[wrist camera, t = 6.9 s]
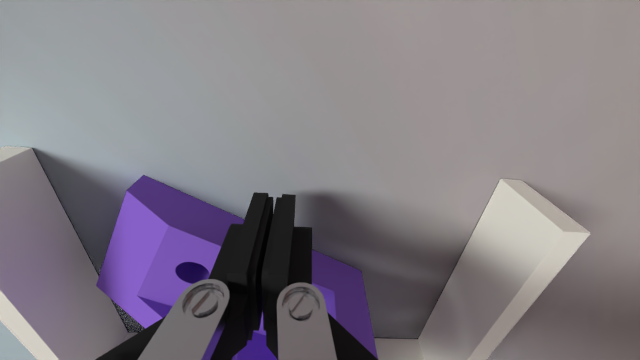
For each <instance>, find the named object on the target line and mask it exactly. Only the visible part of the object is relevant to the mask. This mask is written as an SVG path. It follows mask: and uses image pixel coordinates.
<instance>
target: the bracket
mask: <svg viewBox="0 0 640 360" xmlns="http://www.w3.org/2000/svg"><path fill="white" fill-rule="evenodd" d="M243 223H244V219H242V218H240V217H237V216H235V215H233V214H231V213H228V212H226V211H224V210H222V209H219V208H217V207H215V206H212V205H210V204H208V203H206V202H203V201H201V200H199V199H197V198H194V197H192V196H190V195H188V194H185V193H183V192H181V191H178V190H176V189H174V188H172V187H169V186H167V185H165V184H163V183H160V182H158V181H156V180H154V179H151V178H149V177H147V176H145V175H143V176H142V177H141V178H140V179H139V180H137V181H136V182H135V183H134V184H133V185H132V186H131V187H130V188H129V189H128V190H127V191H126V194H125V197H124V200H123V203H122V206H121V209H120V212H119V215H118V219H117V222H116V225H115V228H114V231H113V234H112V237H111V240H110V243H109V246H108V250H107V253H106V256H105V259H104V262H103V265H102V268H101V271H100V274H99V278H98V281H97V284H96V286H97V287H98V288H99V289H100V290H101V291H103V292H104V293H105V294H106V295H107V296H108V297H109V298H111V299H112V300H113V301H114V302H115V303H116V304H118V305H119V306H120V307H121V308H122V309H123V310H124V311H126V312H127V313H128V314H129V315H130V316H131V317H133V318H134V319H135V320H136V321H137V322H138V323H139V324H141V325H142V326H143V327H144V328H145V329H146V328H147V327H149V326H150V325H152V324H154V323H155V322H157V321H159V320H160V319H162V318H163V317H165V316H167V314H168V313H169V311H170V310H171V308H172V307H173V305H174V304H175V302H176V301H177V299H178V298H179V296H180V295H181V294H182V293H183V291H184V290H185V289H186V288H188V287H189V286H191V285H192V284H194V283H196V282H198V281H201V280H206V279H208V278H209V276H210V273H211V271H212V268H213V266H214V263H215V261H216V259H217V256H218V254H219V251H220V249H221V246H222V244H223V241H224V239H225V236H226V234H227V231H228V229H229V227H230V225H231V224H243ZM312 285H313V286H315V287H316V288H318V289H319V291H320V292H321V293H322V294H323V297H324V300H325V304H326V308H327V312H328V313H329V314H330V315H331V316H332V317H333V318H334V319H335V320H336V321H338V322H339V323H340V324H341V325H342V326H343V327H344V328H345V329H346V330H347V331H348V332H349V333H350V334H351V335H352V336H354V337H355V338H356V339H357V340H358V341H359V342H360V343H361V344H362V345H363V346H364V347H365V348H366V349H367V350H368V351H369V352H371V353H372V354H373V355H374V356H375V357H376V358H377V359H378V356H377V351H376V346H375V341H374V335H373V330H372V325H371V320H370V314H369V309H368V304H367V299H366V293H365V288H364V283H363V278H362V272H361V271H360V270H357V269H355V268H353V267H351V266H348V265H346V264H344V263H342V262H339V261H337V260H335V259H333V258H330V257H328V256H326V255H323V254H321V253H319V252H317V251H314V250H312ZM236 360H276V357H275V356H274V355H273V353H272V352H271V351H270V350H269V348H268V347H267V346H266V331H264V330H263V312H262V318H261V324H260V329H259V331H253V337H252V340H248V341H247V345H246V346H245V347H244V348H243V349H242V350H241V351H239V352H238V354H237V358H236Z"/></svg>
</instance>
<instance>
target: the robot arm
mask: <svg viewBox="0 0 640 360" xmlns="http://www.w3.org/2000/svg"><path fill="white" fill-rule="evenodd" d="M295 196H296V195H288V194H282V198H279V197H277V199H276V204H275V209H274V214H273V197H268V193H254V194H253V197H252V200H251V203H250V206H249V209H248V212H247V215H246V217H245V220H244V223H243V224H231V225H230V227H229V229H228V231H227V234H226V236H225V239H224V241H223V244H222V246H221V249H220V251H219V254H218V256H217V259H216V261H215V263H214V266H213V268H212V271H211V273H210V276H209V278H208V279H206V280H201V281H198V282H196V283H194V284H192V285H191V286H189V287H188V288H186V289H185V290H184V291H183V293H182V294H181V295H180V296H179V298H178V299H177V301H176V302H175V304H174V305H173V307H172V308H171V310H170V311H169V313H168V314H167V316H165V317H163V318H162V319H160V320H159V321H157V322H155V323H154V324H152V325H150V326H149V327H147V328H146V329H144V330H142V331H141V332H139V333H137V334H136V335H134V336H133V337H131V338H129V339H128V340H126V341H124V342H123V343H121V344H120V345H118V346H116V347H115V348H113V349H111V350H110V351H108V352H107V353H105V354H103V355H102V356H100V357H98V358H97V359H95V360H236V358H237V354H238V352H239V351H241V350H242V349H243V348H244V347H245V346H246V345H247V341H248V340H252V337H253V331H259V329H260V324H261V318H262V312H263V330H264V331H266V346H267V347H268V348H269V350H270V351H271V352H272V353H273V355H274V356H275V357H276V360H378V359H377V358H376V357H375V356H374V355H373V354H372V353H371V352H369V351H368V350H367V349H366V348H365V347H364V346H363V345H362V344H361V343H360V342H359V341H358V340H357V339H356V338H355V337H354V336H352V335H351V334H350V333H349V332H348V331H347V330H346V329H345V328H344V327H343V326H342V325H341V324H340V323H339V322H338V321H336V320H335V319H334V318H333V317H332V316H331V315H330V314H329V313H328V312H327V308H326V304H325V300H324V297H323V294H322V293H321V292H320V291H319V289H318V288H316V287H315V286H313V285H312V228H310V227H294V218H295Z"/></svg>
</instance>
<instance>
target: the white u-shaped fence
mask: <svg viewBox="0 0 640 360" xmlns="http://www.w3.org/2000/svg"><path fill="white" fill-rule="evenodd" d="M589 235H590V232H589V231H587V230H586V229H585V228H583V227H582V226H581V225H580V224H578V223H577V222H576V221H574V220H573V219H572V218H570V217H569V216H568V215H566V214H565V213H564V212H562V211H561V210H560V209H559V208H557V207H556V206H555V205H553V204H552V203H551V202H549V201H548V200H547V199H545V198H544V197H543V196H542V195H540V194H539V193H538V192H536V191H535V190H534V189H532V188H531V187H530V186H528V185H527V184H526V183H524V182H523V181H522V180H510V179H500V181H499V183H498V185H497V187H496V189H495V191H494V193H493V195H492V197H491V199H490V201H489V203H488V204H487V206H486V208H485V210H484V212H483V214H482V216H481V218H480V220H479V222H478V224H477V226H476V228H475V230H474V232H473V234H472V235H471V237H470V239H469V241H468V243H467V245H466V247H465V249H464V251H463V253H462V255H461V257H460V259H459V261H458V263H457V265H456V266H455V268H454V270H453V272H452V274H451V276H450V278H449V280H448V282H447V284H446V286H445V288H444V290H443V292H442V294H441V296H440V297H439V299H438V301H437V303H436V305H435V307H434V309H433V311H432V313H431V315H430V317H429V319H428V321H427V323H426V325H425V327H424V328H423V330H422V332H421V334H420V336H419V338H418V339H385V338H374V341H375V346H376V351H377V356H378V360H486V359H487V358H488V357H489V356H490V355H491V353H492V352H493V351H494V350H495V349H496V347H497V346H498V345H499V344H500V342H501V341H502V340H503V339H504V338H505V336H506V335H507V334H508V333H509V332H510V330H511V329H512V328H513V327H514V326H515V324H516V323H517V322H518V321H519V319H520V318H521V317H522V316H523V315H524V313H525V312H526V311H527V310H528V309H529V307H530V306H531V305H532V304H533V302H534V301H535V300H536V299H537V298H538V296H539V295H540V294H541V293H542V292H543V290H544V289H545V288H546V287H547V286H548V284H549V283H550V282H551V281H552V279H553V278H554V277H555V276H556V275H557V273H558V272H559V271H560V270H561V269H562V267H563V266H564V265H565V264H566V262H567V261H568V260H569V259H570V258H571V256H572V255H573V254H574V253H575V252H576V250H577V249H578V248H579V247H580V246H581V244H582V243H583V242H584V241H585V239H586V238H587V237H588V236H589ZM98 278H99V276H98V274H97V272H96V270H95V268H94V266H93V264H92V262H91V261H90V259H89V257H88V255H87V253H86V251H85V249H84V247H83V245H82V243H81V241H80V239H79V237H78V236H77V234H76V232H75V230H74V228H73V226H72V224H71V222H70V220H69V218H68V216H67V214H66V213H65V211H64V209H63V207H62V205H61V203H60V201H59V199H58V197H57V195H56V193H55V191H54V190H53V188H52V186H51V184H50V182H49V180H48V178H47V176H46V174H45V172H44V170H43V168H42V167H41V165H40V163H39V161H38V159H37V157H36V155H35V153H34V151H33V149H32V148H27V147H12V146H4V147H2V148H0V320H1V321H2V323H3V324H4V325H5V326H6V327H7V328H8V329H9V330H10V331H11V332H12V333H13V334H14V335H15V336H16V338H17V339H18V340H19V341H20V342H21V343H22V344H23V345H24V346H25V347H26V348H27V349H28V350H29V351H30V353H31V354H32V355H33V356H34V357H35V358H36V359H37V360H95V359H97V358H98V357H100V356H102V355H103V354H105V353H107V352H108V351H110V350H111V349H113V348H115V347H116V346H118V345H120V344H121V343H123V342H124V341H126V340H128V339H129V338H131V337H133V336H134V335H136V334H137V333H134V332H128V331H127V330H126V328H125V326H124V324H123V322H122V320H121V318H120V316H119V314H118V312H117V310H116V308H115V307H114V305H113V303H112V301H111V299H110V298H109V297H108V296H107V295H106V294H105V293H104V292H103V291H101V290H100V289H99V288H98V287H97V286H96V284H97V281H98Z"/></svg>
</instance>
